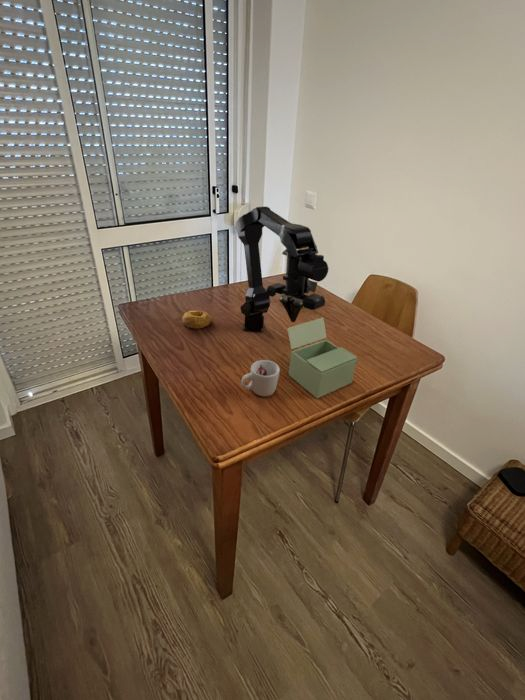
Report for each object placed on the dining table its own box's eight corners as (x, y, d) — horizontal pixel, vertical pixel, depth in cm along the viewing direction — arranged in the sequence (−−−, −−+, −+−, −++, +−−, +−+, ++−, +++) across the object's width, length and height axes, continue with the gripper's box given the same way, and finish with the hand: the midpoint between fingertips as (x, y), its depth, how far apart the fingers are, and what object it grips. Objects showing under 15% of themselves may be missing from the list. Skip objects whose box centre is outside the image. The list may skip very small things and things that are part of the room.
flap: (291, 349, 102) (290, 349, 102) (326, 337, 109) (325, 337, 109) (287, 328, 101) (287, 328, 101) (323, 317, 108) (322, 317, 108)
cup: (246, 405, 94) (247, 381, 90) (236, 387, 100) (236, 364, 96) (282, 396, 98) (284, 373, 94) (270, 379, 104) (272, 357, 100)
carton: (288, 374, 107) (291, 349, 102) (322, 361, 114) (326, 337, 109) (317, 398, 98) (321, 371, 93) (351, 382, 105) (357, 357, 100)
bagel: (215, 326, 130) (215, 315, 127) (186, 332, 126) (185, 320, 123) (207, 315, 137) (206, 304, 135) (179, 320, 133) (178, 308, 130)
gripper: (338, 273, 101) (333, 323, 109) (289, 261, 113) (287, 307, 120) (315, 281, 94) (311, 334, 102) (265, 268, 106) (264, 316, 113)
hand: (293, 321), depth 109 cm, fingers closed
